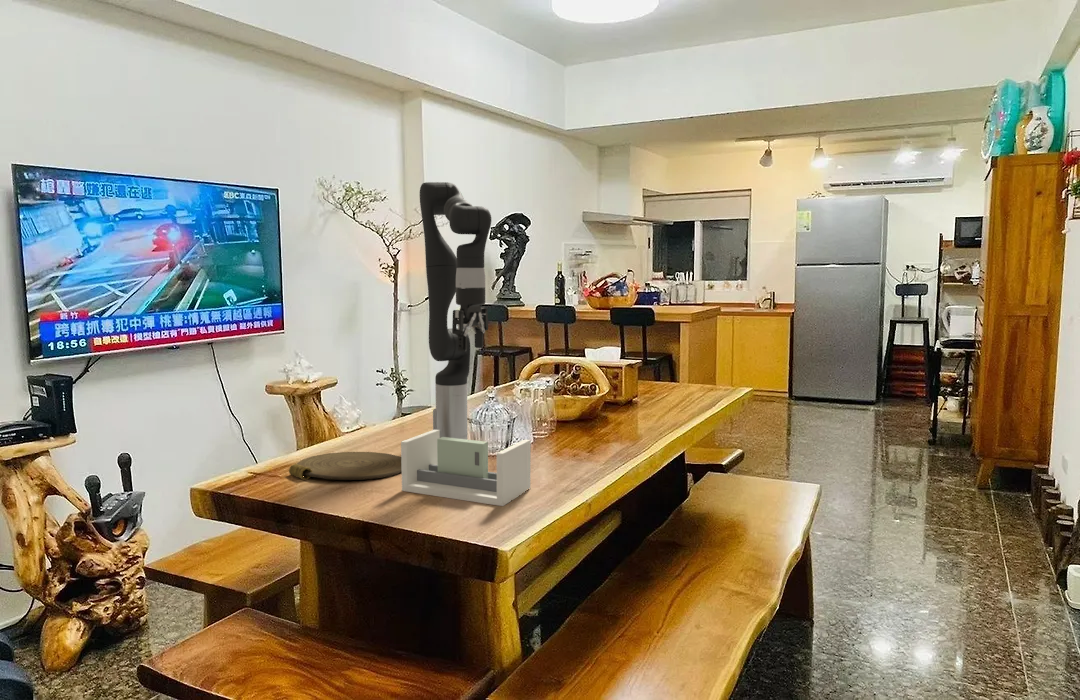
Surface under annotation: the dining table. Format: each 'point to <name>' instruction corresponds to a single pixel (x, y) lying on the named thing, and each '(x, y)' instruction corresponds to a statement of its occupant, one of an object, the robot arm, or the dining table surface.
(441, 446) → the door panel
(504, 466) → the grey u-shaped open holder
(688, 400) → the dining table surface
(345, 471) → the decorative disc
